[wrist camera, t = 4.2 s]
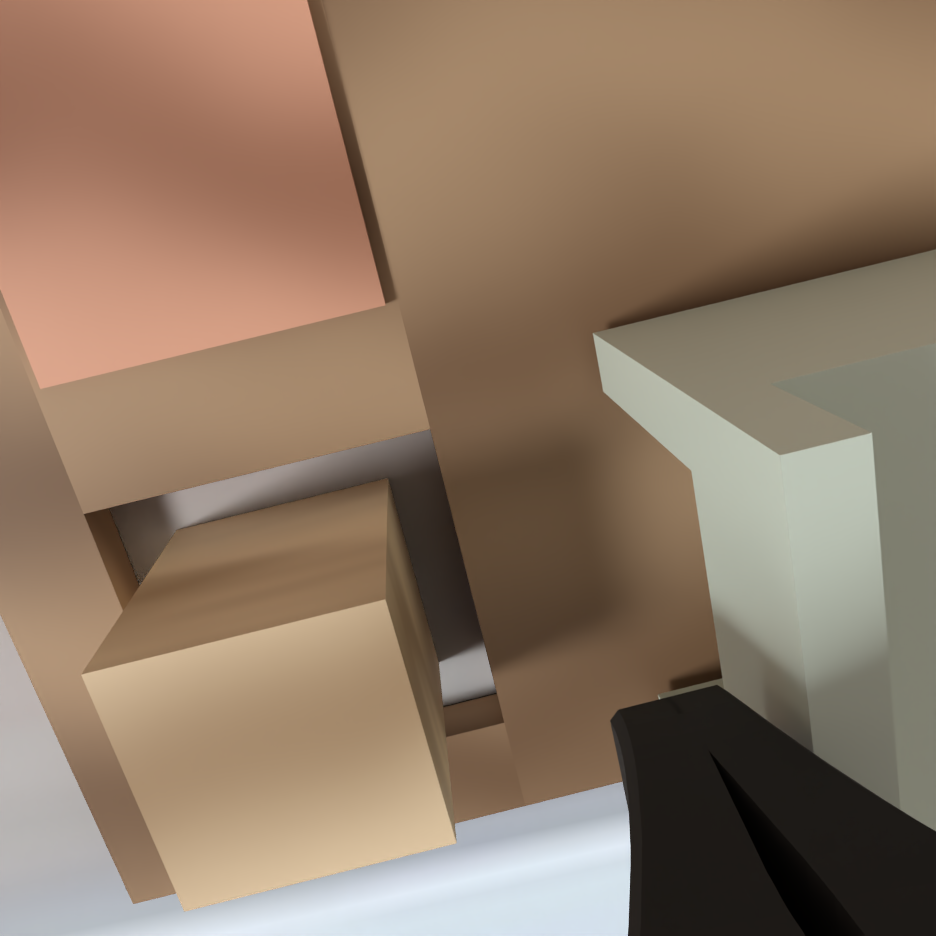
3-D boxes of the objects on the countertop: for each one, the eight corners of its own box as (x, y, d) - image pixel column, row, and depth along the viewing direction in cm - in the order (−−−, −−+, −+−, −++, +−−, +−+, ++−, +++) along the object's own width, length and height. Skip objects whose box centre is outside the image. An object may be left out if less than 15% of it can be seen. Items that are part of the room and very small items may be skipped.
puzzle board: (1066, 636, 18) (1113, 665, 17) (147, 865, 17) (130, 912, 16) (1069, -269, 13) (1135, -315, 12) (-221, 36, 12) (-283, 19, 11)
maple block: (438, 661, 17) (456, 843, 12) (244, 709, 17) (184, 911, 12) (387, 477, 15) (385, 599, 11) (177, 529, 15) (81, 674, 11)
